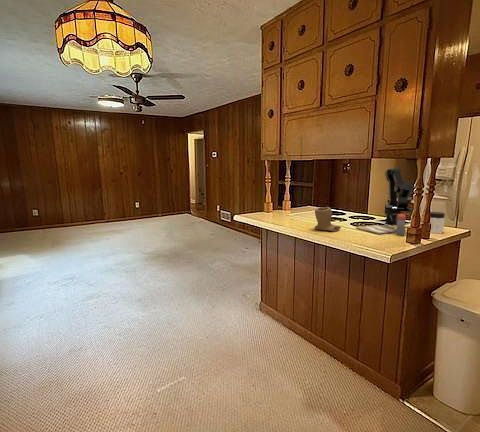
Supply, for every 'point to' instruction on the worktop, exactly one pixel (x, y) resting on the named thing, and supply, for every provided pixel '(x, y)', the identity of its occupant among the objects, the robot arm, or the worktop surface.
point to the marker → (400, 224)
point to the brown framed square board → (378, 229)
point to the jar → (437, 222)
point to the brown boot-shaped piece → (325, 219)
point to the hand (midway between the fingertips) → (401, 221)
